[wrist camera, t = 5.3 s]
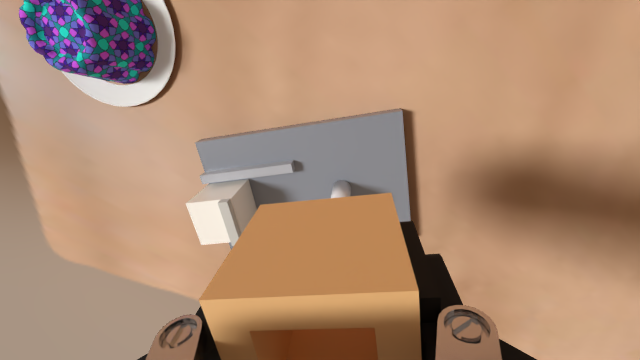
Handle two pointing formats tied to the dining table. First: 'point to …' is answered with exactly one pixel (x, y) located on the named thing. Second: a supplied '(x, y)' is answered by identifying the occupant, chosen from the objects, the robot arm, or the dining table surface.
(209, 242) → the cream square block
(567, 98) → the dining table surface
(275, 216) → the orange hollow cube
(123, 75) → the pudding
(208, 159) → the base
